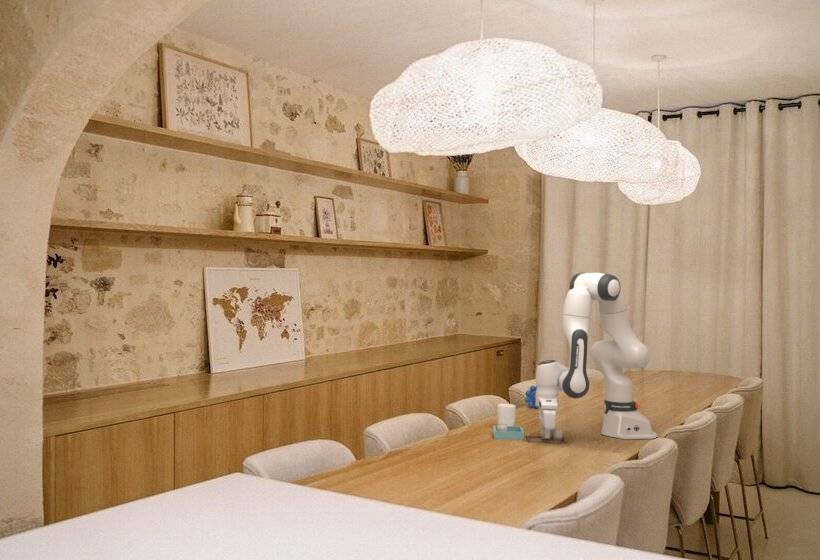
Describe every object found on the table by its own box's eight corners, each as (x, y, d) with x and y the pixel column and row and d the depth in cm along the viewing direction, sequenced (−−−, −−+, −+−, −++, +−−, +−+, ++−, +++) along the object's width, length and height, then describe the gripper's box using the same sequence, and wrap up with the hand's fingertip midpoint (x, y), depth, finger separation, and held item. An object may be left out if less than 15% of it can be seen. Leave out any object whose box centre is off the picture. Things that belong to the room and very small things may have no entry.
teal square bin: (521, 434, 305) (521, 426, 305) (524, 441, 293) (524, 432, 293) (492, 434, 305) (493, 425, 305) (494, 440, 294) (494, 431, 294)
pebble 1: (506, 435, 301) (506, 424, 301) (507, 437, 297) (507, 426, 297) (497, 434, 302) (497, 423, 302) (497, 437, 298) (497, 425, 298)
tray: (563, 439, 297) (563, 436, 297) (566, 444, 288) (566, 441, 288) (525, 438, 298) (526, 435, 298) (528, 443, 289) (528, 440, 289)
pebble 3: (561, 439, 295) (561, 428, 295) (562, 441, 291) (563, 430, 291) (551, 439, 295) (551, 428, 295) (552, 441, 291) (552, 430, 291)
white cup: (514, 431, 312) (515, 407, 312) (496, 430, 314) (496, 406, 314) (516, 427, 320) (516, 404, 320) (497, 426, 321) (498, 403, 321)
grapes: (550, 408, 368) (550, 384, 368) (546, 410, 362) (546, 385, 362) (527, 406, 373) (527, 382, 373) (523, 408, 367) (523, 383, 367)
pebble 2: (550, 439, 295) (550, 428, 295) (551, 441, 291) (552, 430, 291) (540, 439, 295) (540, 427, 295) (541, 441, 291) (541, 429, 291)
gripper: (535, 396, 303) (535, 430, 304) (541, 405, 283) (541, 441, 283) (551, 397, 303) (550, 430, 303) (558, 405, 283) (558, 442, 283)
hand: (546, 436), depth 293 cm, fingers closed on pebble 2, 4 cm apart
